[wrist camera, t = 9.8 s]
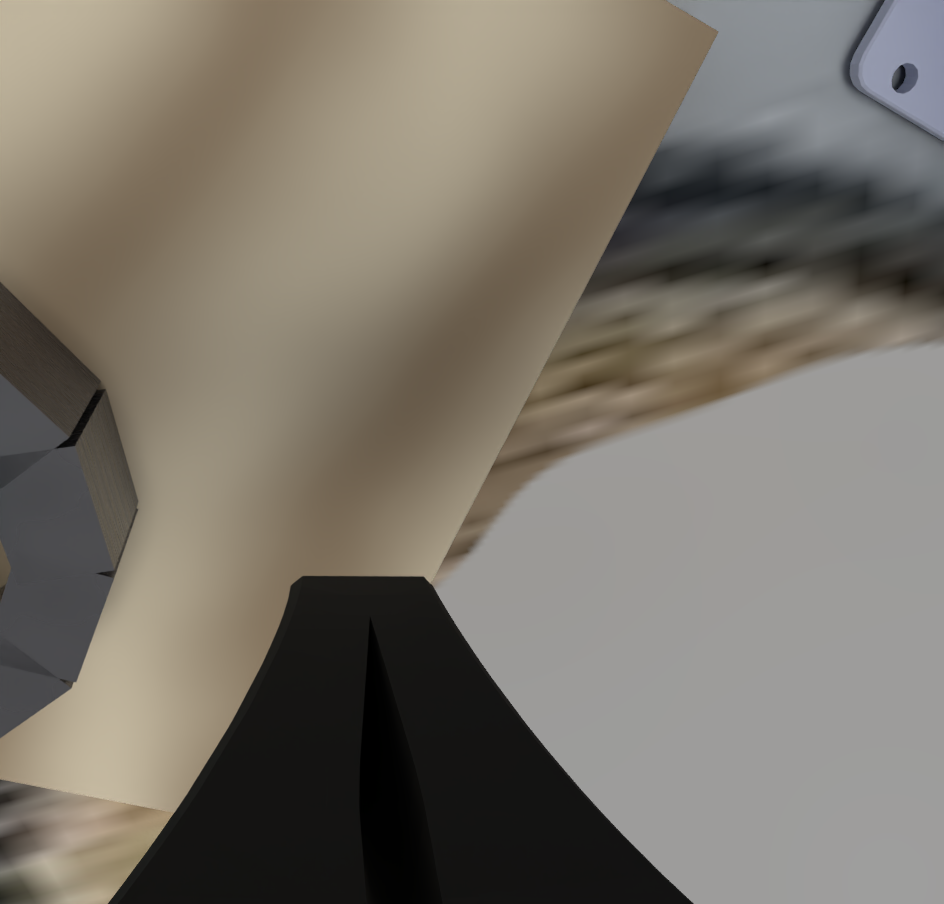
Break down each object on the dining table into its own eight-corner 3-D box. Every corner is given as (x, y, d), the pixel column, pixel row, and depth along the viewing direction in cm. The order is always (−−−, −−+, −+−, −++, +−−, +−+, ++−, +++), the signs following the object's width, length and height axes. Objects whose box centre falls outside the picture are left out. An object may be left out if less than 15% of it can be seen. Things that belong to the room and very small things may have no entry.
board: (692, 30, 16) (718, 31, 15) (299, 798, 23) (298, 836, 22) (-346, -575, 11) (-415, -636, 10) (-453, 643, 18) (-500, 682, 17)
